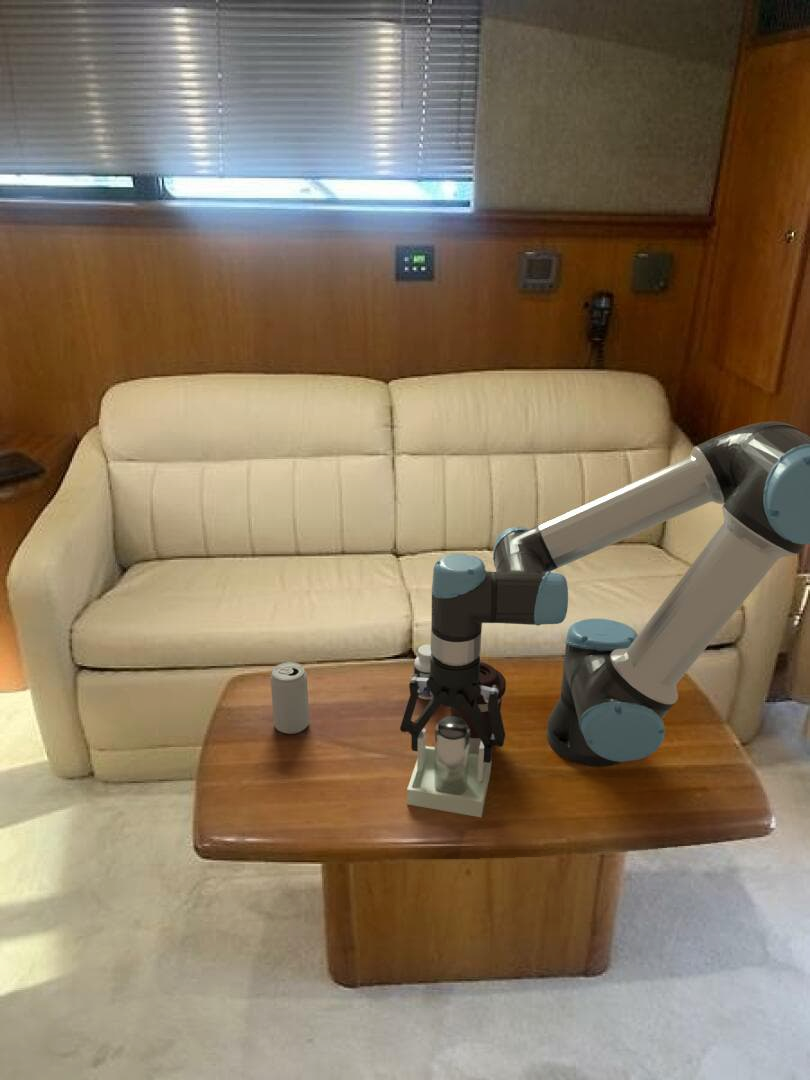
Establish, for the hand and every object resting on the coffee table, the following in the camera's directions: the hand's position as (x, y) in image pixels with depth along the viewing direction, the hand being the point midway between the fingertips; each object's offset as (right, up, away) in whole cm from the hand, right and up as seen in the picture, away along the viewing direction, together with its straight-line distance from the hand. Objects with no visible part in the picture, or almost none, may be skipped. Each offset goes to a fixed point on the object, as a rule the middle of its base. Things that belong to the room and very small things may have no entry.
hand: (450, 770), depth 128 cm
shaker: (0, -3, +1) cm, 3 cm away
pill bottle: (-3, +8, +26) cm, 27 cm away
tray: (0, -3, +1) cm, 4 cm away
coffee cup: (+5, +1, +12) cm, 13 cm away
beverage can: (-28, +3, +16) cm, 32 cm away
